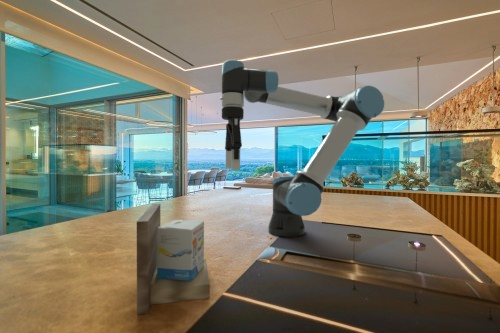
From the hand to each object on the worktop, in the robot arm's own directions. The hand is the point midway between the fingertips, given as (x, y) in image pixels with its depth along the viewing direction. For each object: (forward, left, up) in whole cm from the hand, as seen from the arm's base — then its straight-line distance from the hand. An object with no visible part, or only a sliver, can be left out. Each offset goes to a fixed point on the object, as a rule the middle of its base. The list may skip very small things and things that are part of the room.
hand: (232, 169), depth 87 cm
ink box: (+16, +25, -24) cm, 38 cm away
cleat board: (+17, +25, -27) cm, 40 cm away
